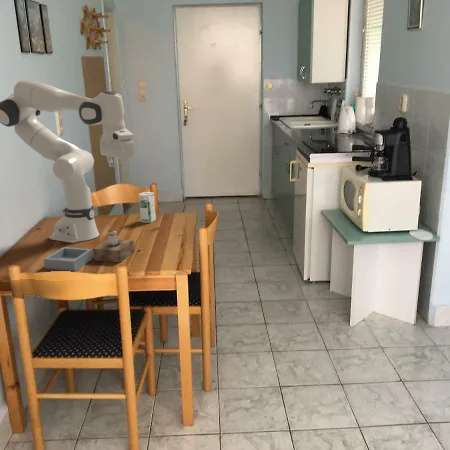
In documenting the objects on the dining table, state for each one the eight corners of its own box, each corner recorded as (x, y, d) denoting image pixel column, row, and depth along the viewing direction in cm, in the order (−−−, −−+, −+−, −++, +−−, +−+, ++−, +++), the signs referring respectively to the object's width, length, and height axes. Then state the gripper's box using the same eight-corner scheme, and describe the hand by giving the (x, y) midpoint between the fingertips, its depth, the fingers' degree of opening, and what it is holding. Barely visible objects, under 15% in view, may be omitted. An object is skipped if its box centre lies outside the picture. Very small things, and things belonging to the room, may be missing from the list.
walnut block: (94, 260, 198) (92, 248, 196) (109, 250, 209) (107, 238, 207) (121, 262, 195) (119, 250, 193) (134, 251, 205) (133, 240, 204)
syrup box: (140, 222, 246) (138, 194, 241) (146, 219, 251) (144, 191, 247) (150, 223, 244) (148, 194, 239) (156, 219, 249) (154, 192, 245)
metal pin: (108, 257, 201) (106, 231, 197) (113, 254, 204) (110, 229, 200) (116, 257, 200) (113, 232, 196) (120, 254, 203) (118, 229, 199)
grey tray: (45, 268, 191) (43, 258, 190) (64, 256, 203) (63, 247, 202) (75, 271, 188) (73, 261, 186) (93, 258, 200) (92, 249, 199)
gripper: (94, 132, 199) (97, 166, 203) (121, 136, 184) (124, 172, 188) (108, 131, 203) (111, 164, 207) (135, 134, 188) (138, 170, 192)
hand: (117, 168), depth 197 cm, fingers open, 8 cm apart
